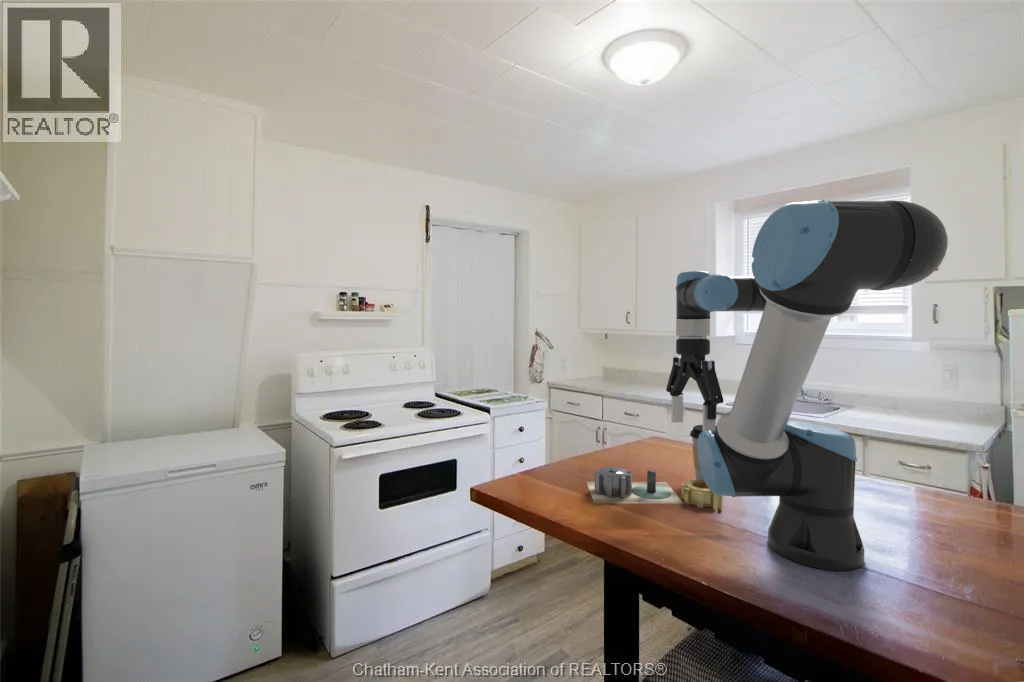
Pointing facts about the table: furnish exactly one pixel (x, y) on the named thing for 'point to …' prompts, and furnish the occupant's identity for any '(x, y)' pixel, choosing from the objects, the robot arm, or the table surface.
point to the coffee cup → (696, 450)
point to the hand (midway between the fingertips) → (692, 427)
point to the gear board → (640, 492)
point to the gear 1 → (613, 482)
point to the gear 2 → (700, 495)
